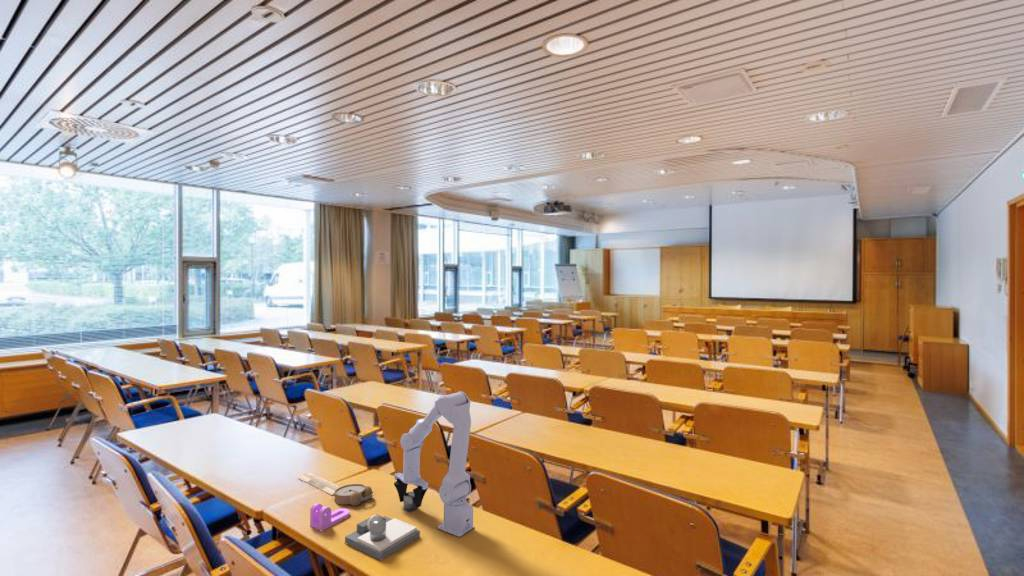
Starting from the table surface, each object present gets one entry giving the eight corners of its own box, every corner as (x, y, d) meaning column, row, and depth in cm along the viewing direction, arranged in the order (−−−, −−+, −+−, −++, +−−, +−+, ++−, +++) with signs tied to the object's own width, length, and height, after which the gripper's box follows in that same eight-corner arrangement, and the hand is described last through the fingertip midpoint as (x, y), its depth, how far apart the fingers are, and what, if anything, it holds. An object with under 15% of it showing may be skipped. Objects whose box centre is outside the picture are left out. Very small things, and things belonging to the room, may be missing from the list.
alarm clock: (349, 482, 188) (379, 483, 181) (350, 495, 187) (381, 496, 181) (326, 493, 178) (358, 494, 171) (328, 507, 177) (359, 509, 171)
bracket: (321, 531, 157) (321, 510, 157) (310, 526, 159) (310, 505, 159) (353, 515, 168) (353, 495, 168) (341, 510, 171) (342, 491, 171)
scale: (419, 536, 155) (420, 516, 155) (380, 560, 141) (381, 538, 141) (384, 522, 163) (385, 503, 163) (344, 543, 150) (345, 522, 150)
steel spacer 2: (420, 508, 174) (420, 494, 174) (409, 513, 170) (409, 499, 170) (411, 503, 177) (411, 490, 177) (400, 508, 173) (400, 494, 173)
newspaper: (346, 492, 187) (346, 487, 187) (329, 498, 181) (329, 493, 181) (311, 475, 201) (312, 471, 201) (295, 481, 195) (295, 476, 195)
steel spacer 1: (387, 532, 151) (387, 516, 150) (384, 541, 146) (384, 524, 146) (371, 533, 150) (371, 517, 150) (368, 542, 145) (368, 525, 145)
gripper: (434, 467, 173) (433, 505, 173) (405, 458, 180) (404, 494, 181) (420, 473, 167) (419, 513, 167) (390, 463, 175) (389, 501, 175)
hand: (410, 503), depth 173 cm, fingers open, 7 cm apart
